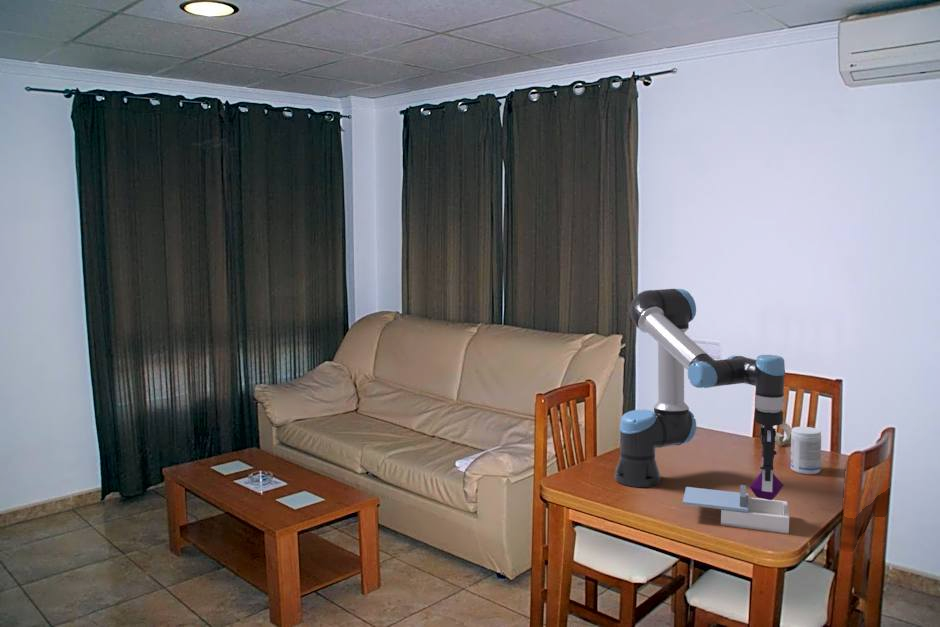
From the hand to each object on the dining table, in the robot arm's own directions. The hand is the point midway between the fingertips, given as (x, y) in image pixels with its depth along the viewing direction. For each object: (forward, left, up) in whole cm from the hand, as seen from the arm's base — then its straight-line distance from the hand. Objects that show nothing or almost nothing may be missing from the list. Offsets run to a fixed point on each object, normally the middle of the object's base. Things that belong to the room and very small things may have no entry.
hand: (766, 485), depth 208 cm
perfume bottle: (0, 0, -4) cm, 4 cm away
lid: (-14, 0, -6) cm, 15 cm away
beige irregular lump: (+7, +81, -11) cm, 82 cm away
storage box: (-3, 0, -11) cm, 11 cm away
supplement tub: (+14, +52, -11) cm, 55 cm away
